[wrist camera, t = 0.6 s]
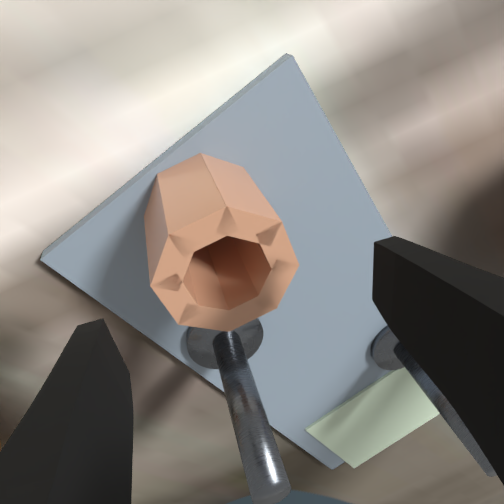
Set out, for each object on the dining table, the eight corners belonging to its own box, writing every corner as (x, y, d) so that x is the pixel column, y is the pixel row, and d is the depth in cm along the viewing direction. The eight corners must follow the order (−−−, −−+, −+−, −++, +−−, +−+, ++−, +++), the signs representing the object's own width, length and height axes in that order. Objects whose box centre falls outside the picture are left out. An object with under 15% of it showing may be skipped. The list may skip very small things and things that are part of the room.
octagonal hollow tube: (271, 176, 19) (317, 231, 14) (232, 263, 21) (262, 336, 16) (167, 141, 17) (182, 193, 12) (135, 242, 19) (138, 319, 14)
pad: (304, 428, 30) (305, 430, 30) (404, 361, 29) (406, 363, 29) (353, 466, 36) (354, 468, 35) (439, 410, 34) (441, 412, 34)
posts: (178, 361, 23) (204, 532, 16) (195, 300, 21) (233, 463, 14) (409, 364, 30) (506, 488, 22) (438, 317, 28) (555, 436, 20)
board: (43, 250, 19) (40, 259, 18) (286, 53, 17) (292, 55, 16) (328, 461, 36) (332, 469, 35) (464, 372, 34) (471, 380, 33)
